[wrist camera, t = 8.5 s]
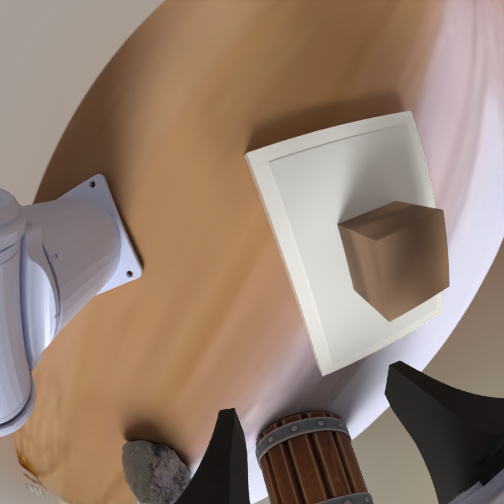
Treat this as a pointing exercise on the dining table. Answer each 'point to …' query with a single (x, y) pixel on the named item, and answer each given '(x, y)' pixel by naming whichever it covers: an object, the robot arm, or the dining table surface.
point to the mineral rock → (154, 472)
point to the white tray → (334, 212)
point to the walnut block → (397, 256)
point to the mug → (310, 461)
